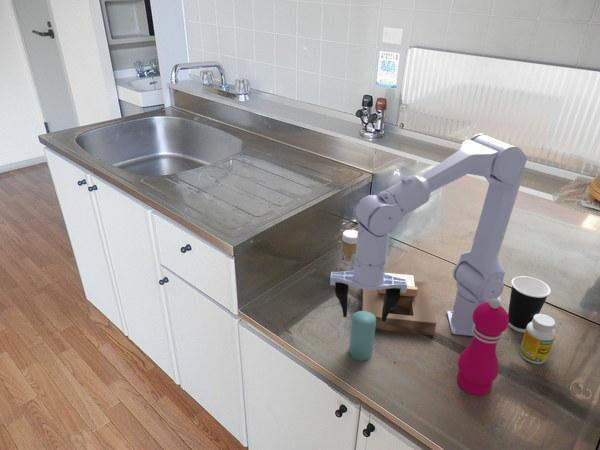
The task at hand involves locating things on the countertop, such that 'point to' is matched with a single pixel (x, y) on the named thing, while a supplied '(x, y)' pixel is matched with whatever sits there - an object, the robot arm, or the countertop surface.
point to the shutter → (411, 287)
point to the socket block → (418, 306)
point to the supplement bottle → (538, 339)
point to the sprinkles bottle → (348, 250)
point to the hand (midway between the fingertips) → (364, 316)
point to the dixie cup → (526, 301)
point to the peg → (362, 335)
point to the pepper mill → (482, 349)
